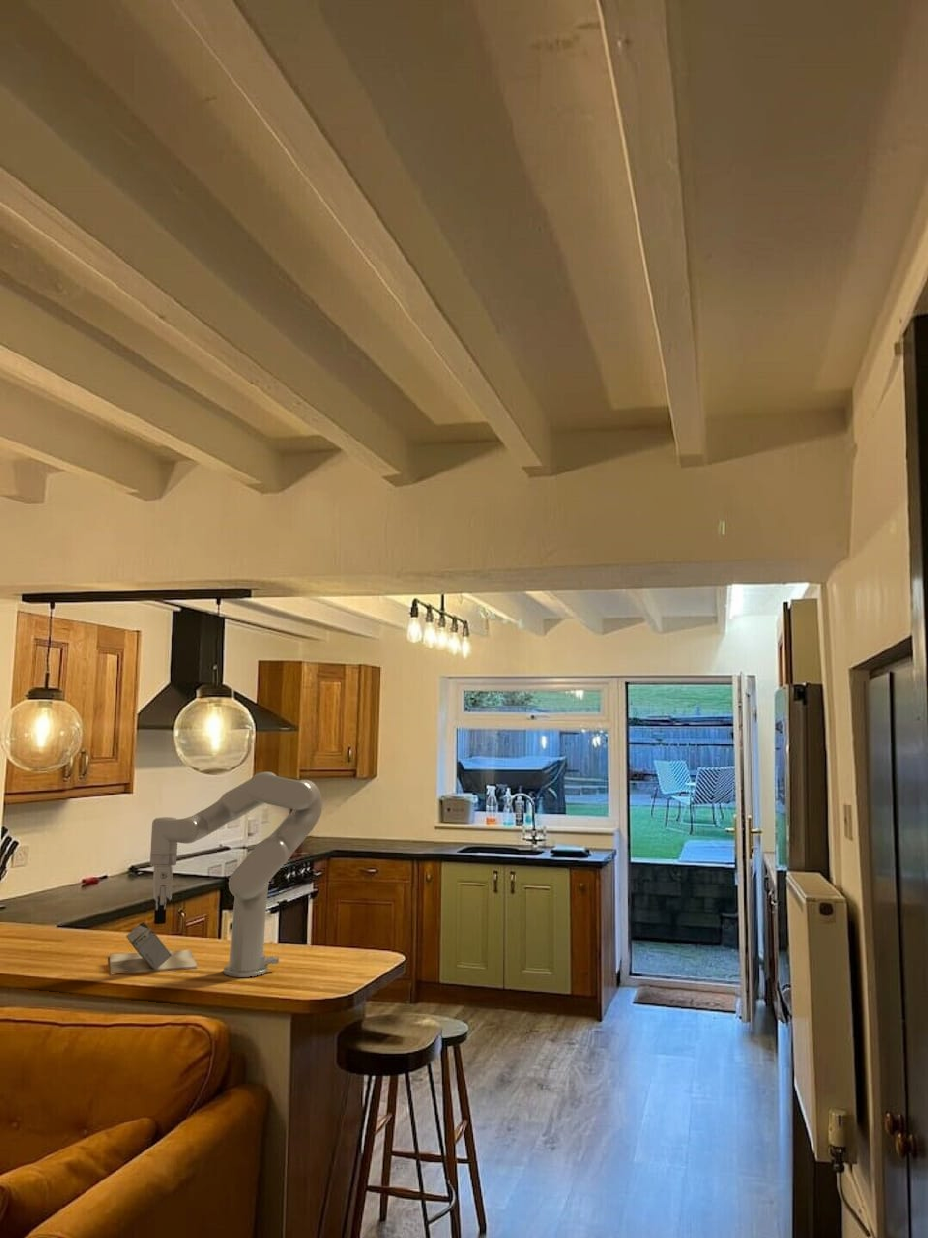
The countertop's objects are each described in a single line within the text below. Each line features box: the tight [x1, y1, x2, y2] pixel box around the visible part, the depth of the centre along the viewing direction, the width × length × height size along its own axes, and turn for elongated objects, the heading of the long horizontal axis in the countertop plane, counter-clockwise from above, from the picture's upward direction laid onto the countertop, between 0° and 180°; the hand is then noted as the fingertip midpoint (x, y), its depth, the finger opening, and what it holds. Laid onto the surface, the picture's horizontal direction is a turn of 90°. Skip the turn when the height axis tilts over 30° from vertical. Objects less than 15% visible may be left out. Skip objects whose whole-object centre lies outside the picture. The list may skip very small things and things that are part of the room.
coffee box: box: [125, 921, 172, 970], centre depth 262 cm, size 9×6×16 cm
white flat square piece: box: [109, 949, 198, 974], centre depth 265 cm, size 24×22×1 cm
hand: (159, 923), depth 258 cm, fingers closed
